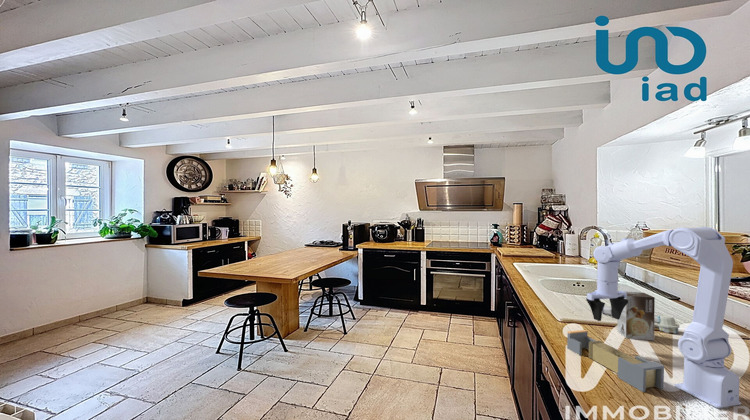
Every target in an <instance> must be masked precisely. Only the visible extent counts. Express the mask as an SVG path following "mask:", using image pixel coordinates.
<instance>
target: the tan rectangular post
mask: <svg viewBox="0 0 750 420" xmlns="http://www.w3.org/2000/svg"><path fill="white" fill-rule="evenodd" d="M620 357H621V358H623V359H625V360H627V361H628V362H630V363H632V364H638V363H643V362H641V361H639V360H637V359H635V357H633V356H632V355H629V354H627V353H625V352H624V351H621V350H619V349H617V348H615V347H612V345H608V344H607V343H604V342H603V341H601V340H596V341H592V342H589V350H588V358H589V359H592V360H593V361H595V362H597V363H599V364H600V365H602V366H604V367H605V368H607V369H609V370H610V371H613V372H614V373H616V374H618V358H620ZM655 379H656V369H654V370H646V389H648V388H654V387H655ZM655 388H656V387H655Z"/></svg>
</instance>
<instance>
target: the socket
mask: <svg viewBox="0 0 750 420" xmlns="http://www.w3.org/2000/svg"><path fill="white" fill-rule="evenodd" d="M566 341H567V342H566V343H567V344H566V347H567V349H568V350H570V351H571V352H573V353H575V354H576V353H577V354H576V355H578V354H579V356H582V349H586V350H588V351H589V342H592V341H597V340H596V339H594V338H592V337H590V336H588V330H587V329H578V330H568V331H567V339H566Z"/></svg>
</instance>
